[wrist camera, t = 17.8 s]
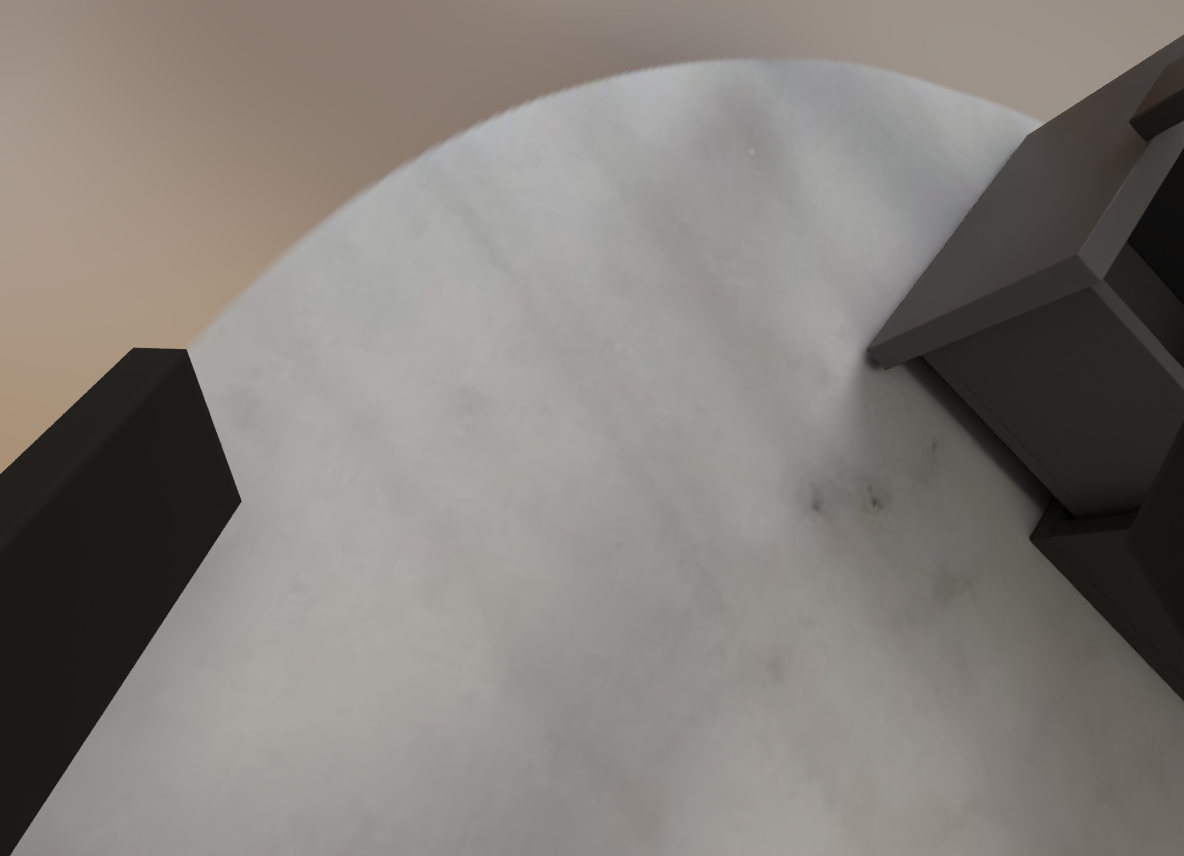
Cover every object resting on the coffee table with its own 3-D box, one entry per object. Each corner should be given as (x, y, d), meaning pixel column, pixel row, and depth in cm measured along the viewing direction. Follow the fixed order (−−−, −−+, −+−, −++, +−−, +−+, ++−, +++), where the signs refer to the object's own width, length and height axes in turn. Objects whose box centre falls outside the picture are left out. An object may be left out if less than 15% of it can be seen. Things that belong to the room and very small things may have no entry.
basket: (641, 116, 28) (977, -355, 14) (844, -70, 33) (1231, -542, 19) (1113, 610, 30) (1773, 609, 17) (1231, 366, 35) (1808, 215, 22)
